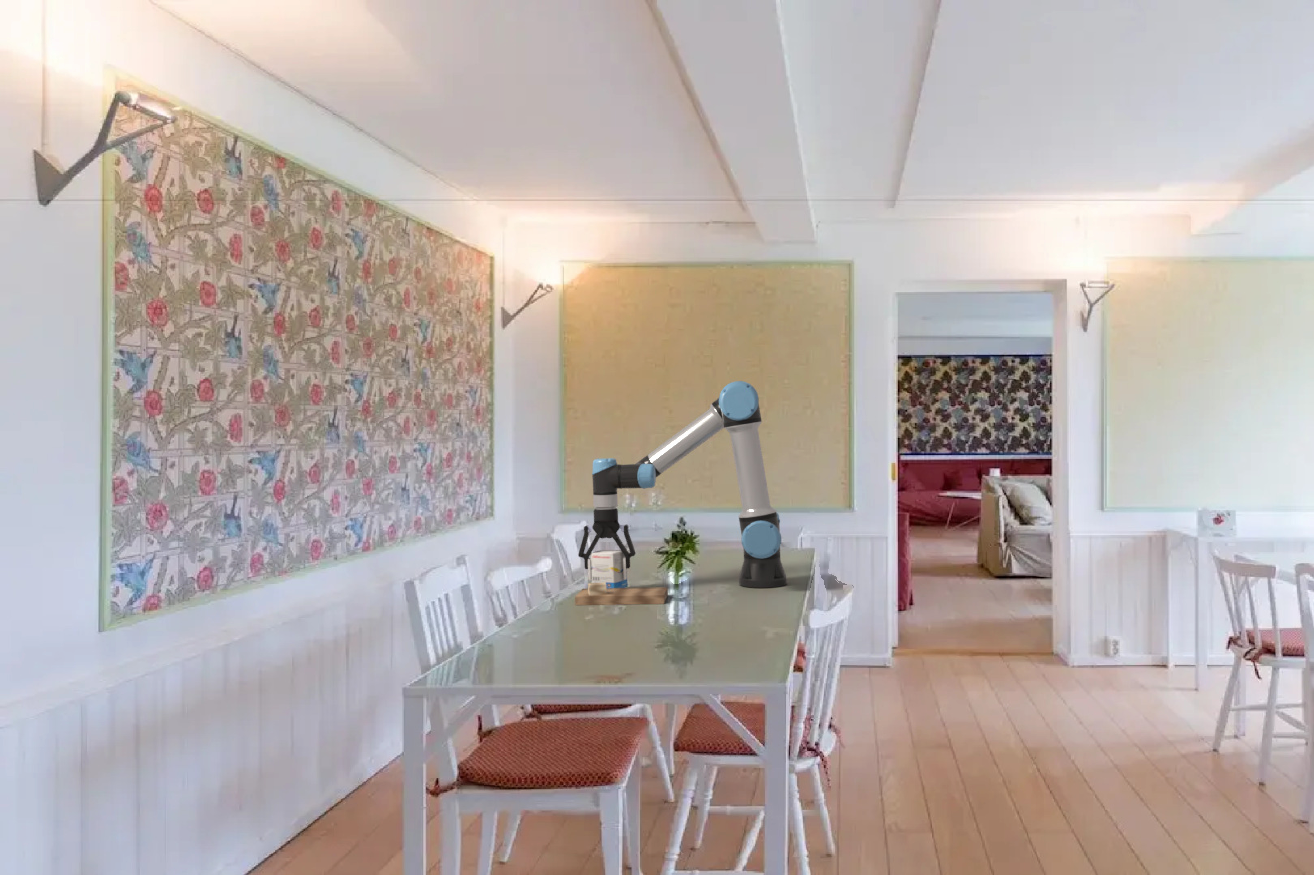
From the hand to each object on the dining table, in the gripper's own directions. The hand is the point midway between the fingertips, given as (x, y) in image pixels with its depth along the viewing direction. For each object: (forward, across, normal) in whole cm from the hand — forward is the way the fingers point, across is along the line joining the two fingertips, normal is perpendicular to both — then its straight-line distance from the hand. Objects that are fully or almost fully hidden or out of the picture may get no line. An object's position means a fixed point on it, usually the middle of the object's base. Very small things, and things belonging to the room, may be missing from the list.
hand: (607, 579), depth 315 cm
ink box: (+3, 0, -1) cm, 3 cm away
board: (+4, -6, +12) cm, 14 cm away
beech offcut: (+2, +1, +15) cm, 15 cm away
